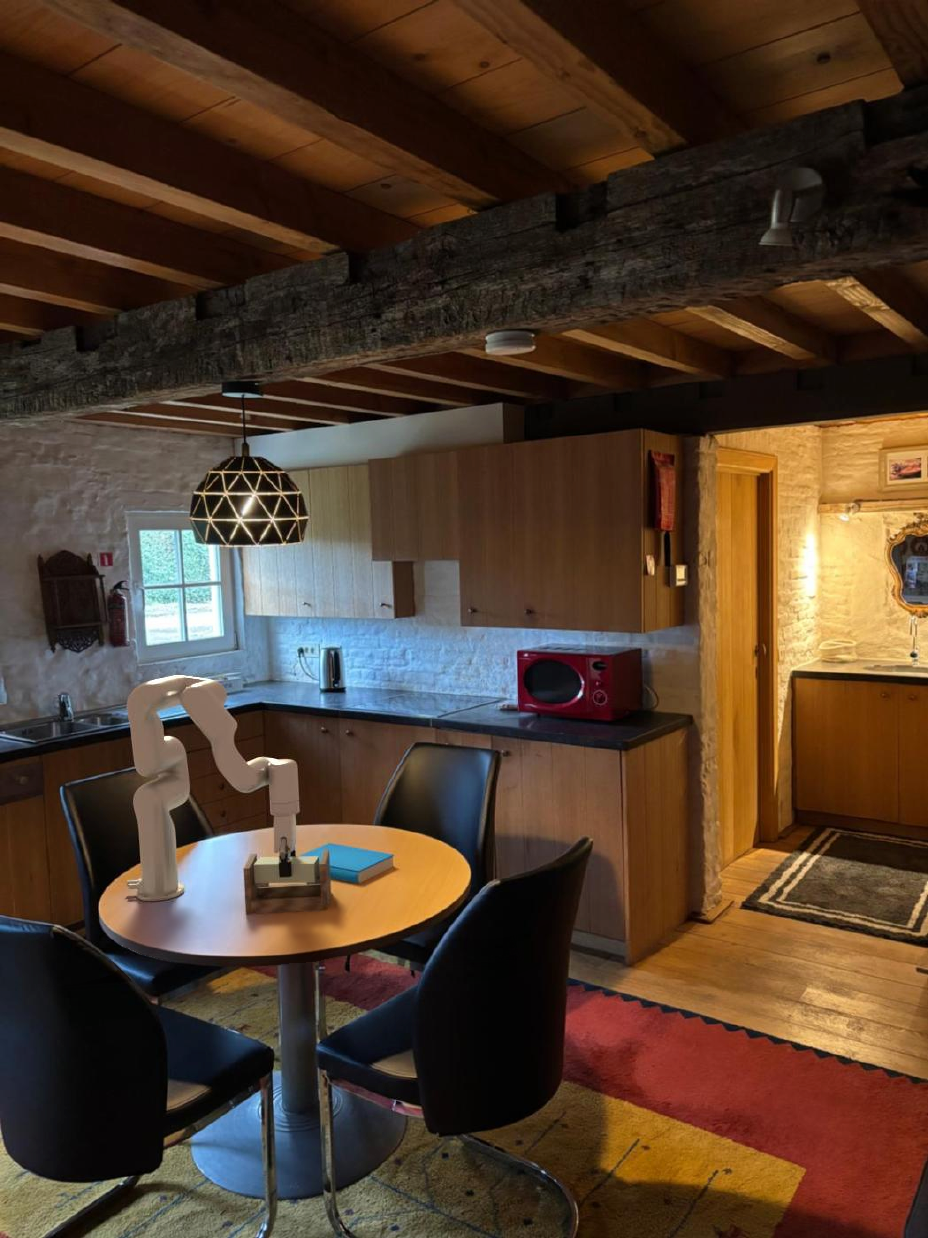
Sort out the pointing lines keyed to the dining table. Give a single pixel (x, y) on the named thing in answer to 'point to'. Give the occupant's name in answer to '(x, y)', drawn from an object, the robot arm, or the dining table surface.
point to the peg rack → (287, 891)
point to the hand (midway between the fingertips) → (287, 870)
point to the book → (353, 862)
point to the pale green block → (301, 870)
